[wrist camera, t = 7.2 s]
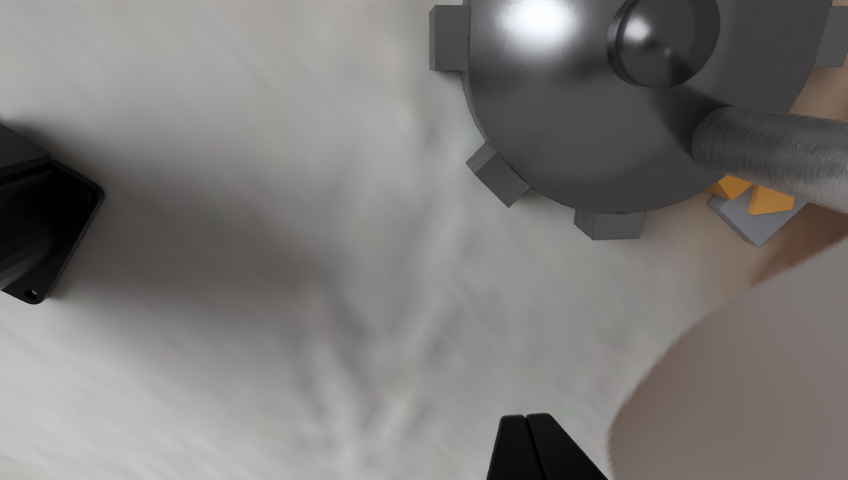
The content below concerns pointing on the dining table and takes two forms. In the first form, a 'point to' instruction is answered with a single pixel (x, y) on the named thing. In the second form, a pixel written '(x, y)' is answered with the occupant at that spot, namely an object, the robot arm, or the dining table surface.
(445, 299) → the dining table surface
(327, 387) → the dining table surface
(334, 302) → the dining table surface
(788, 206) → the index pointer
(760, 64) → the sprocket
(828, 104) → the dining table surface
